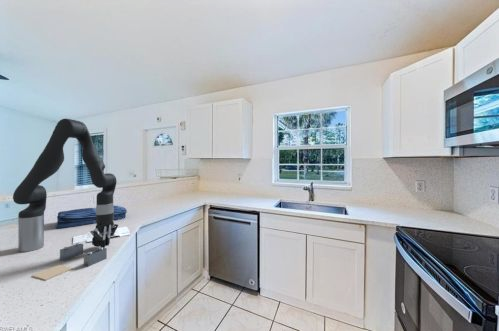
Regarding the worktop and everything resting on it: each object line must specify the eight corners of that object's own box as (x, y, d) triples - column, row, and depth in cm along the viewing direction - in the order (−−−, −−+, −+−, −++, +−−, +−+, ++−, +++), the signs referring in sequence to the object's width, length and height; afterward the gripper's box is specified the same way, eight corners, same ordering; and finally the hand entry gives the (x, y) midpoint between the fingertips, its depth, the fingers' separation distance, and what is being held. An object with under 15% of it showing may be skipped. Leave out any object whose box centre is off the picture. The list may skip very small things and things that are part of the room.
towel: (127, 219, 166) (127, 206, 166) (55, 230, 137) (55, 215, 137) (121, 213, 183) (121, 202, 183) (56, 223, 154) (56, 209, 154)
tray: (73, 236, 126) (73, 230, 126) (125, 228, 144) (125, 222, 144) (72, 247, 111) (72, 240, 111) (131, 235, 129) (131, 230, 129)
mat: (31, 276, 80) (31, 275, 80) (59, 266, 89) (59, 264, 89) (45, 281, 77) (45, 279, 77) (72, 269, 86) (72, 268, 86)
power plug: (98, 253, 101) (90, 235, 105) (99, 261, 105) (90, 242, 109) (111, 247, 105) (102, 230, 109) (111, 255, 109) (102, 237, 114)
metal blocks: (59, 260, 94) (59, 248, 94) (79, 253, 101) (79, 242, 101) (88, 267, 88) (88, 254, 88) (106, 259, 95) (106, 247, 95)
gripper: (112, 209, 112) (112, 240, 112) (85, 214, 99) (85, 250, 99) (122, 210, 109) (122, 242, 109) (96, 216, 96) (96, 252, 96)
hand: (105, 245), depth 104 cm, fingers closed
